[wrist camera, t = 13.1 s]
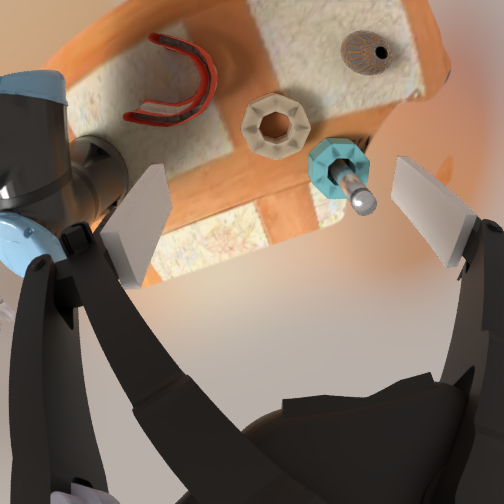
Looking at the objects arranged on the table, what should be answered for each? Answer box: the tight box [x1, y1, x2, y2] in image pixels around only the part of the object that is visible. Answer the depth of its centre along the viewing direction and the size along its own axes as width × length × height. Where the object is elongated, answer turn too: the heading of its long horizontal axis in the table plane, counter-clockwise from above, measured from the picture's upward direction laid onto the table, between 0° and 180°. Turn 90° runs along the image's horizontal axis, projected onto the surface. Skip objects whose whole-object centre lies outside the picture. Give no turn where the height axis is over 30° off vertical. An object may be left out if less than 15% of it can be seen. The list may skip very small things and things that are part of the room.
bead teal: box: [308, 138, 370, 199], centre depth 42 cm, size 9×9×4 cm
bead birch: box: [241, 92, 311, 160], centre depth 38 cm, size 9×9×4 cm
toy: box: [123, 33, 218, 127], centre depth 31 cm, size 12×10×8 cm
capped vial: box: [328, 158, 377, 216], centre depth 38 cm, size 3×3×14 cm
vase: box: [341, 31, 392, 75], centre depth 28 cm, size 7×7×9 cm
